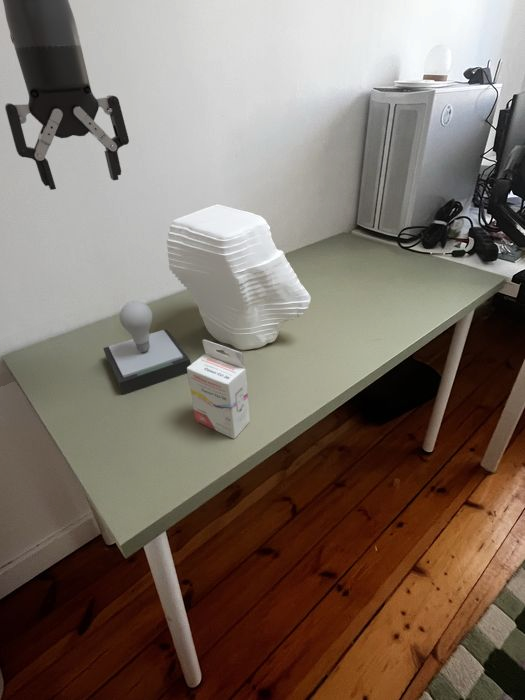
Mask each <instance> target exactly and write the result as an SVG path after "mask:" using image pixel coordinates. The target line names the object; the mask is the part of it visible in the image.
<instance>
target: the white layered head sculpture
mask: <svg viewBox="0 0 525 700" xmlns="http://www.w3.org/2000/svg"><path fill="white" fill-rule="evenodd" d="M272 234H273V233H272V232H271V226H270V225H269V224H268V222H267V220H266V219H265V218H264V217H263V216H261V215H260V214H255V213H253V212H250V211H246V210H243V209H238V208H234V207H230V206H227V205H222V204H218V203H216V204H213V205H210V206H207V207H205V208H202V209H200V210H196V211H194V212H191V213H189V214H186V215H182V216H181V217H178V218H175V219H174V220H172V224H170V225H169V232H168V233H167V235H168V239H166V244H167V247H166V248H167V257H168V259H167V260H168V262H169V263H168V264H169V265H168V268H169V271H171V273H172V274H174V276H175V278H177V280H178V281H179V282H180V284H182V285H183V287H185V288H186V290H187V291H188V294H189V297H190V298H191V299H192V301H193V302H194V303H195V304H196V306H197V308H198V311H199V312H198V313H199V314H200V317H201V318H202V321H203V324H204V326H205V327H206V331H207V332H208V333H209V334H210V335H211V336H212V337H213V338H214V339H215V340H217V341H218V342H220V343H224V344H228V345H231V346H232V347H234V348H235V349H237V350H242V351H247V350H252V349H259V348H262V347H264V346H266V345H267V344H270V343H273V342H275V341H276V339H277V338H278V335H279V334H280V332H281V331H282V330H281V329H282V328H283V326H284V324H285V322H288V321H294V320H295V319H297V318H300V317H301V316H303V315H304V313H306V312H307V310H308V309H309V307H310V305H311V299H312V297H311V295H310V293H309V292H308V291H307V288H305V286H304V285H303V284H302V283H301V280H300V279H299V278H298V275H297V274H296V272H295V271H294V268H292V266H291V263H290V262H289V261H288V260H287V258H286V255H285V252H284V251H283V250H281V249H277V247H276V244H275V241H274V240H273V238H272Z"/></svg>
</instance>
